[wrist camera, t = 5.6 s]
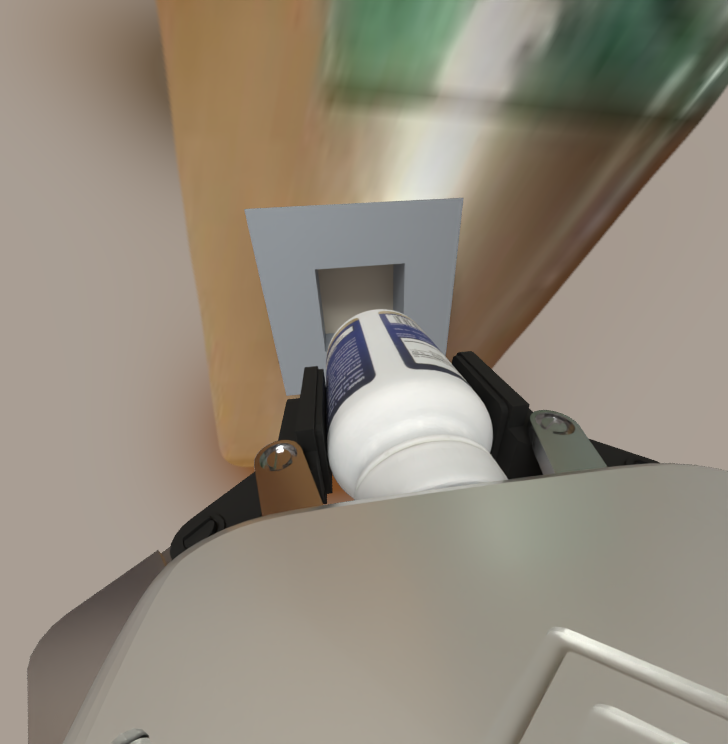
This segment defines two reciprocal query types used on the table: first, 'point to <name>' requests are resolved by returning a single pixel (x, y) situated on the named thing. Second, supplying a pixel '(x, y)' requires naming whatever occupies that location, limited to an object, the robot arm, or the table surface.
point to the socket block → (352, 271)
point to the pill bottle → (401, 412)
